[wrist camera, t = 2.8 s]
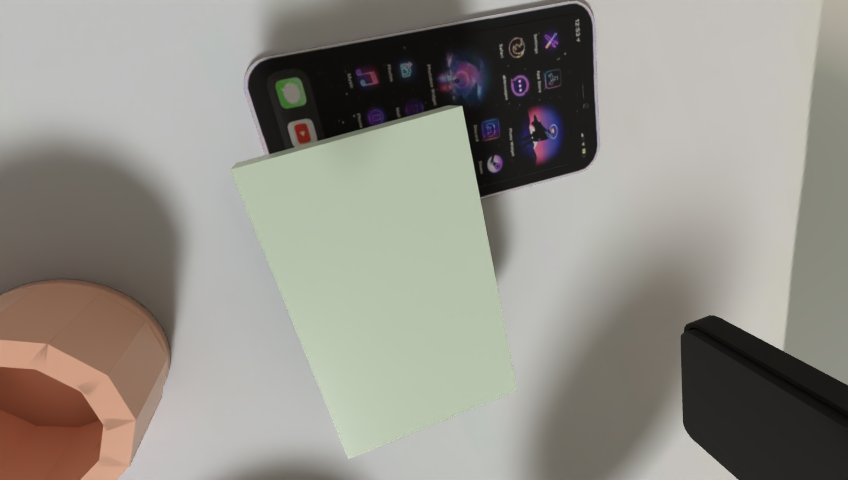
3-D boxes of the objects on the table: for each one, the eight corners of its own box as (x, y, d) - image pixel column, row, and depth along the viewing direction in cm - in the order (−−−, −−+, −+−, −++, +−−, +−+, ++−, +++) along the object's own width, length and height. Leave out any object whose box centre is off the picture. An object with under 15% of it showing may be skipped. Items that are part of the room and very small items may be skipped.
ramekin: (-82, 315, 16) (-220, 394, 11) (122, 255, 17) (64, 306, 13) (27, 455, 18) (-54, 560, 14) (198, 394, 19) (170, 474, 15)
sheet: (236, 163, 14) (230, 169, 13) (448, 105, 15) (462, 106, 14) (344, 434, 18) (348, 459, 17) (503, 371, 20) (517, 390, 18)
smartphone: (234, 61, 16) (594, -5, 18) (236, 62, 16) (586, -2, 19) (295, 249, 18) (601, 167, 21) (295, 245, 19) (593, 165, 22)
